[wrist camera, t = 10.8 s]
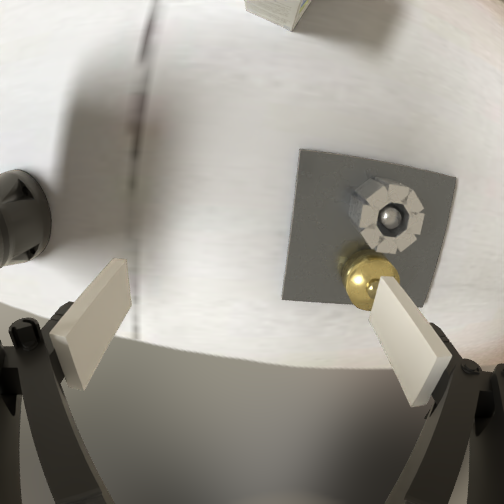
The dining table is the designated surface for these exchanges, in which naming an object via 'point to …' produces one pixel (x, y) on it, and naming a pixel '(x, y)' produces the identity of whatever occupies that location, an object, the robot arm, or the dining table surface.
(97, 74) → the dining table surface
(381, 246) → the planet gear
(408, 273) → the carrier
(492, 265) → the dining table surface
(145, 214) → the dining table surface
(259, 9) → the light bulb box
